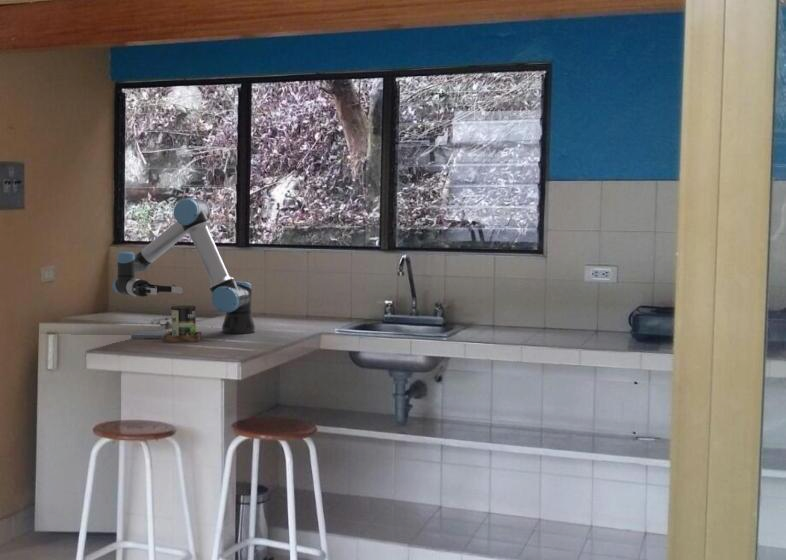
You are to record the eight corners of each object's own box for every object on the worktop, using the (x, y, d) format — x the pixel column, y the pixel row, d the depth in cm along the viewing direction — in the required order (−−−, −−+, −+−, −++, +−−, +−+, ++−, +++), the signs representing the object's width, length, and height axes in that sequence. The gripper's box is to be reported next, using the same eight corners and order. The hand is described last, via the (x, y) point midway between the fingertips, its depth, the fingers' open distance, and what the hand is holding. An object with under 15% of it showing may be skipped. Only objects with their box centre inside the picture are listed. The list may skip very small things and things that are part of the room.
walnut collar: (201, 337, 400) (201, 331, 400) (198, 341, 386) (198, 335, 386) (167, 337, 398) (168, 331, 398) (163, 341, 384) (163, 335, 384)
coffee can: (200, 338, 396) (199, 305, 395) (189, 341, 386) (188, 307, 385) (179, 337, 399) (178, 305, 398) (167, 340, 389) (166, 307, 388)
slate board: (166, 334, 406) (166, 331, 406) (162, 338, 393) (162, 335, 393) (136, 334, 404) (136, 331, 404) (131, 338, 392) (131, 335, 391)
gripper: (161, 294, 420) (191, 298, 407) (115, 297, 400) (144, 301, 387) (161, 278, 419) (191, 281, 406) (115, 280, 400) (145, 283, 387)
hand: (169, 291), depth 397 cm, fingers open, 13 cm apart
